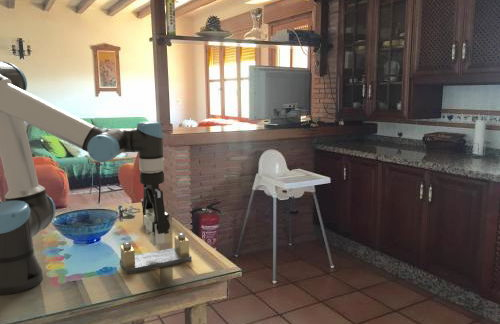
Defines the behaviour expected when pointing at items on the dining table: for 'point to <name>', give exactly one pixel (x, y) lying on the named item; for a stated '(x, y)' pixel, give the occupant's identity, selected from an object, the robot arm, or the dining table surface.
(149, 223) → the pneumatic valve
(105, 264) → the dining table surface
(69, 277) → the dining table surface
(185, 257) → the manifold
